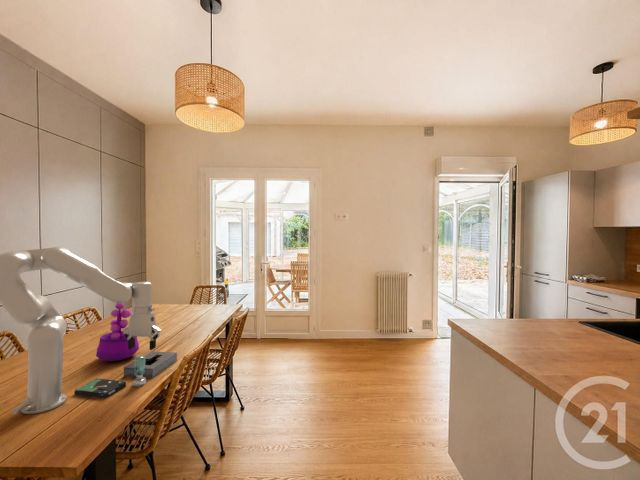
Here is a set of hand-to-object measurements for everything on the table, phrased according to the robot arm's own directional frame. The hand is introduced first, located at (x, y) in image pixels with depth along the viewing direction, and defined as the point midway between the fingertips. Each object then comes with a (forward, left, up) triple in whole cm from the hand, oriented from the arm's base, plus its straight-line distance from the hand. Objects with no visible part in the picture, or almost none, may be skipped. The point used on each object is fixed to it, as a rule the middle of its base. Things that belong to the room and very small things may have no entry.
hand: (142, 348), depth 127 cm
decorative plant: (+25, +31, -16) cm, 42 cm away
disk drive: (-7, +12, -16) cm, 22 cm away
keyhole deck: (+16, +6, -16) cm, 23 cm away
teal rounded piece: (0, +1, -16) cm, 16 cm away
